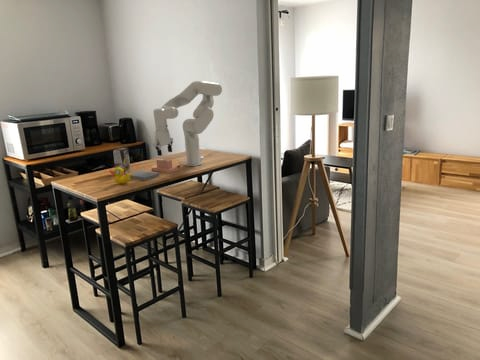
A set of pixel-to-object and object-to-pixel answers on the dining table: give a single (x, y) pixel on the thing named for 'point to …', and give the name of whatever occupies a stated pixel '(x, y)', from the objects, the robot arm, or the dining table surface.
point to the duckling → (118, 177)
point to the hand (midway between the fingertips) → (165, 153)
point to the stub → (164, 166)
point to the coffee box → (122, 159)
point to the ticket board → (143, 175)
